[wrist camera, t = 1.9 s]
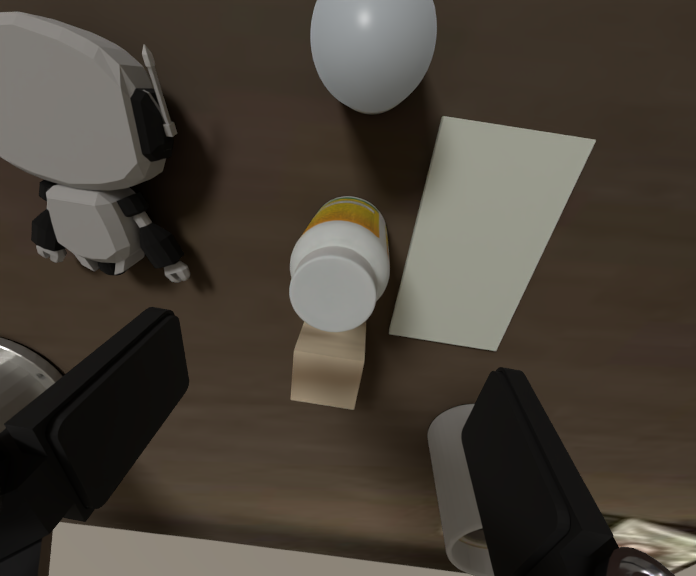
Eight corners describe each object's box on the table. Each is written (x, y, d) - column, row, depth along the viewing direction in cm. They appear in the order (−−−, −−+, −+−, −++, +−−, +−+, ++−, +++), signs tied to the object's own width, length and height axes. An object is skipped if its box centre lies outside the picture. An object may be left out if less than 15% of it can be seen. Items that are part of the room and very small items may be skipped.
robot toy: (214, 268, 26) (188, 42, 18) (185, 299, 22) (135, 30, 14) (69, 244, 26) (-23, 8, 18) (16, 271, 22) (-135, -15, 14)
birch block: (357, 365, 28) (354, 409, 24) (303, 356, 28) (290, 399, 24) (366, 321, 26) (364, 361, 22) (307, 311, 26) (294, 350, 22)
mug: (477, 388, 28) (522, 507, 20) (541, 436, 31) (607, 562, 22) (395, 442, 33) (403, 558, 24) (457, 480, 35) (484, 599, 26)
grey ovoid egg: (406, 120, 19) (419, 120, 13) (325, 107, 19) (306, 102, 14) (428, 14, 16) (453, -38, 11) (335, -1, 16) (316, -59, 11)
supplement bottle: (399, 246, 23) (413, 320, 14) (336, 277, 24) (315, 360, 16) (363, 179, 21) (355, 218, 12) (298, 217, 22) (250, 275, 14)
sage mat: (493, 347, 26) (495, 351, 26) (388, 330, 26) (388, 334, 26) (591, 139, 18) (596, 139, 18) (441, 116, 18) (443, 116, 18)
